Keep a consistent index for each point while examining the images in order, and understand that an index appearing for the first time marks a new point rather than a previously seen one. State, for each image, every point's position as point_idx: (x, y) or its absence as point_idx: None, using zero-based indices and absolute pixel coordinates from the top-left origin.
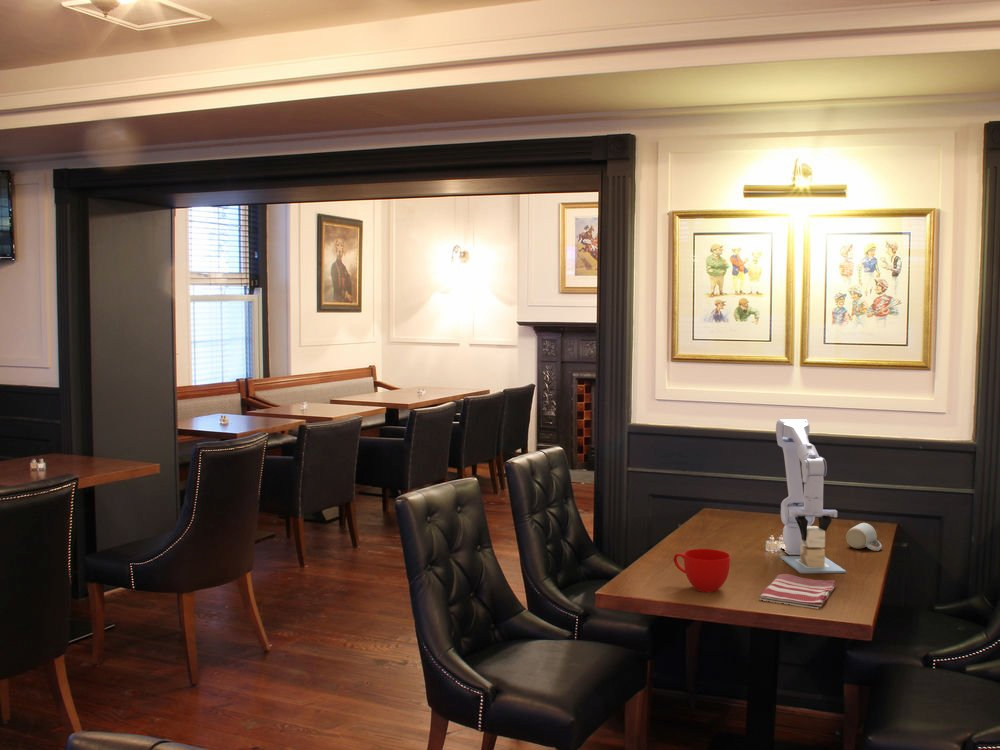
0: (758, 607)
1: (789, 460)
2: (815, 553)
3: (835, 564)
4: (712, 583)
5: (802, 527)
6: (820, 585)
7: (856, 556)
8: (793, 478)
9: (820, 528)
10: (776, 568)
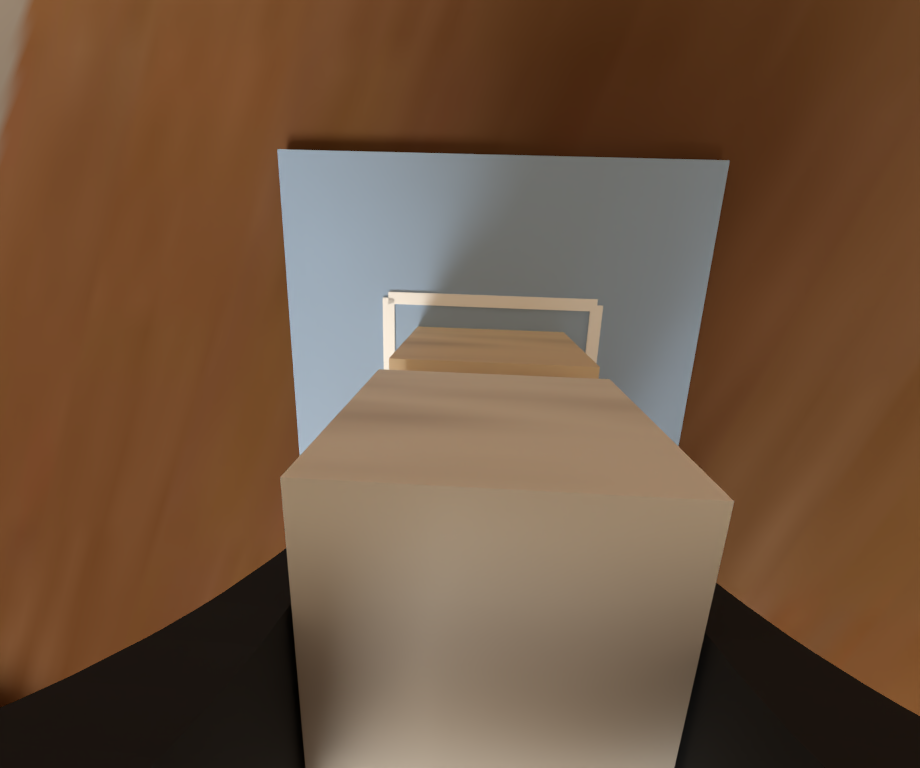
0: None
1: None
2: (508, 354)
3: (302, 372)
4: None
5: (894, 706)
6: None
7: (73, 604)
8: None
9: (307, 719)
10: (839, 358)
